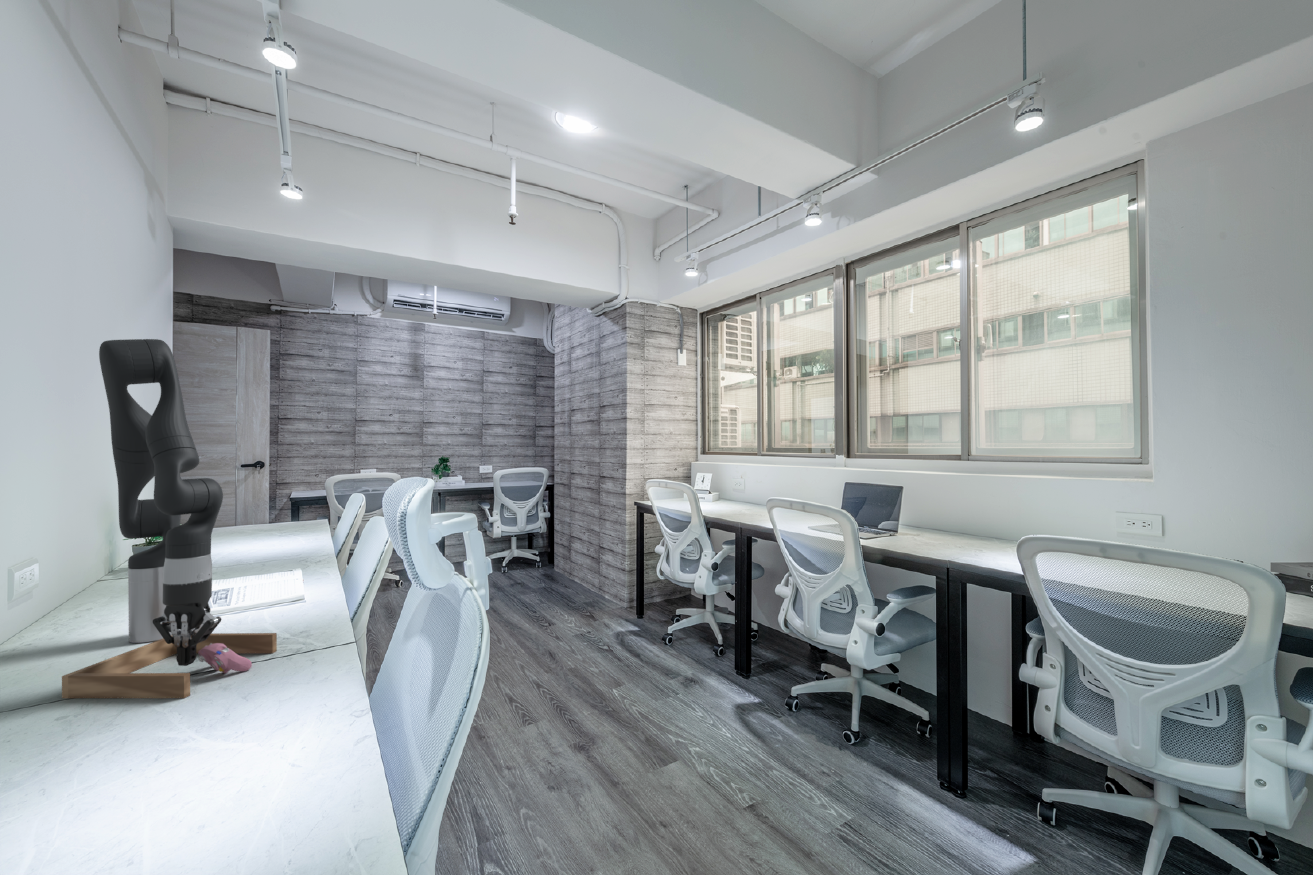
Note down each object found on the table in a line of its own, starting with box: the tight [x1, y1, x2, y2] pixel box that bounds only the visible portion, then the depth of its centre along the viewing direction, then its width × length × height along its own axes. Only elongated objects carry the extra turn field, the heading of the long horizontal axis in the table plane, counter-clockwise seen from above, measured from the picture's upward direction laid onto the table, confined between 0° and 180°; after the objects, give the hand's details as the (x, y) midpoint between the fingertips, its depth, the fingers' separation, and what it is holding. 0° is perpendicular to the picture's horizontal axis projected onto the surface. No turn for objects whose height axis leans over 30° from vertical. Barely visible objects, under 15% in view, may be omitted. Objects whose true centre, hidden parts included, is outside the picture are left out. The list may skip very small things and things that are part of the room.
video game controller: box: [197, 643, 253, 675], centre depth 110 cm, size 10×5×7 cm, turn 63°
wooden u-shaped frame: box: [61, 632, 278, 699], centre depth 110 cm, size 22×23×4 cm
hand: (186, 664), depth 110 cm, fingers closed
